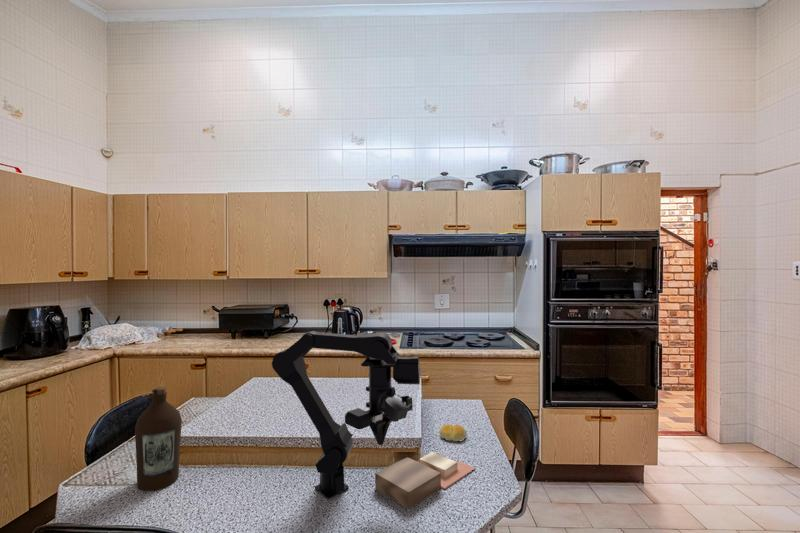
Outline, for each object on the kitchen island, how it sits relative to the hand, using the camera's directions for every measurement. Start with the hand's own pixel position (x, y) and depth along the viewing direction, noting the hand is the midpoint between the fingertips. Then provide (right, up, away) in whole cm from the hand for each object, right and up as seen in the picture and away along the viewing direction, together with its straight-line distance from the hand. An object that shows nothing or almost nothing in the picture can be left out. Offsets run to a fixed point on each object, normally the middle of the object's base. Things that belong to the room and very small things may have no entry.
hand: (380, 444), depth 95 cm
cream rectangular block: (+16, -10, +11) cm, 22 cm away
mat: (+16, -12, +11) cm, 23 cm away
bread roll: (+23, -13, +32) cm, 42 cm away
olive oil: (-60, -13, +5) cm, 62 cm away
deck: (+7, -12, +1) cm, 14 cm away
